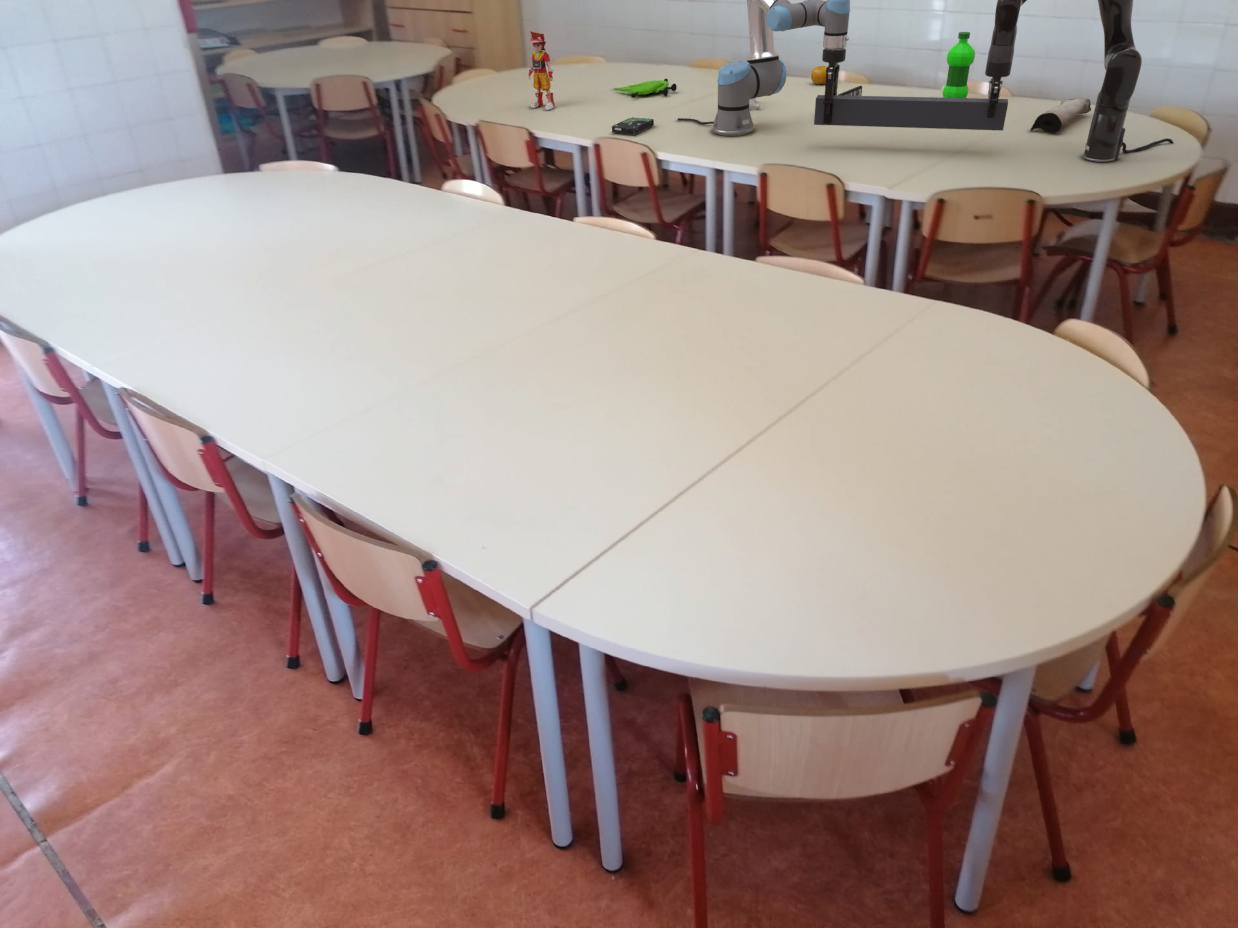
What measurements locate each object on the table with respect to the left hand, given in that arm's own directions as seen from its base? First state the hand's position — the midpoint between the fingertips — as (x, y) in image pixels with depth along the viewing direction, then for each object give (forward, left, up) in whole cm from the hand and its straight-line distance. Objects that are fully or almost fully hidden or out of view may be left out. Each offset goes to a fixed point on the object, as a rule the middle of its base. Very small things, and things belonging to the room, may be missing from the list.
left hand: (828, 121), depth 309 cm
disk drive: (-76, -4, -9) cm, 77 cm away
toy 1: (-132, +15, -9) cm, 133 cm away
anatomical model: (-50, +43, -9) cm, 67 cm away
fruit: (-35, +90, -9) cm, 97 cm away
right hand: (+51, +11, +3) cm, 52 cm away
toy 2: (-105, +52, -9) cm, 117 cm away
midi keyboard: (-12, +60, -9) cm, 62 cm away
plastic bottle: (+26, +75, -9) cm, 79 cm away
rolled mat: (+68, +55, -9) cm, 88 cm away
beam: (+25, +5, -1) cm, 26 cm away
